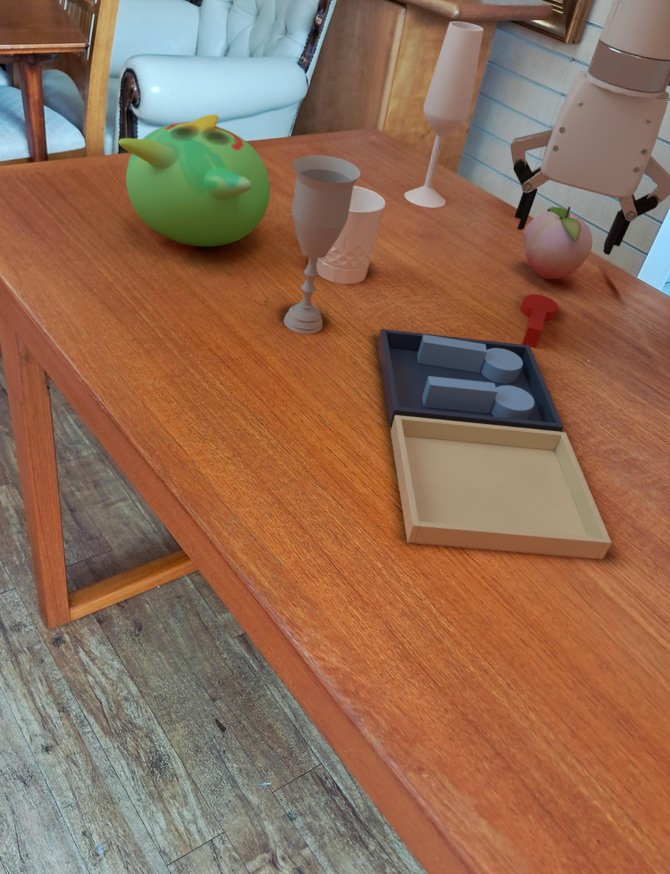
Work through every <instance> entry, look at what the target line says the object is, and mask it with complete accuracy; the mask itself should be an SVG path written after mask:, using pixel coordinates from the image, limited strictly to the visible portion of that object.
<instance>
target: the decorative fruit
mask: <svg viewBox="0 0 670 874" xmlns="http://www.w3.org/2000/svg"><path fill="white" fill-rule="evenodd" d="M570 211H571V206H568V207H567V209H566V208H564V207H559V206H549V207H548V208H547V210H546V211H545V212H542V213H540V214H539V215H536V216H535V217H533V219H531V220H530V221H529V223H527V225H526V226H525V227H524V231H523V236H522V244H523V250H524V255H525V257H526V260H527V262H528V264H529V266H530V267H531V268H532V269H533V270H534V271H535V272H536V273H537V275H538V276H539V277H540V278H542V279H544V280H552V279H553V280H554V279H560V278H561V279H562V278H565V277H568V276H569V275H571V274H572V273H574V272H575V271H577V270H578V269H579V268H580V267H581V266H582V265H583V264H584V263H585V262H586V260H587V259H588V257H589V255H590V253H591V251H592V247H593V236H592V232H591V229H590V227H589V226H588V225H587V223H586V222H585V221H584V220H583V219H582V218H581V217H579V216H577V215H575V214H572V213H570Z"/></svg>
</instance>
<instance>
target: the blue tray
mask: <svg viewBox="0 0 670 874" xmlns="http://www.w3.org/2000/svg"><path fill="white" fill-rule="evenodd" d="M423 335H430V336H436V337H443V338H449V339H455V340H461V341H468V342H474V343H480V344H485V345H486V350H488V349H491V348H501V349H506V350H509V351H511V352H513V353H515V354H517V355H518V356H519V357H520V358H521V359H522V361H523V366H522V368H521V371H520V374H519V376H518V379H517V380H516V381H515V382H513V383H508V384H503V383H497V382H494V381H491V380H489V379H487V378H486V377H484V376H483V375H482V374H481V372H480V373H476V372H470V371H463V370H457V369H451V368H444V367H438V366H432V365H425V364H419V363H418V359H417V355H418V351H419V348H420V344H421V340H422V336H423ZM376 346H377V347H376V348H377V353H378V357H379V358H378V360H379V365H380V372H381V378H382V385H383V392H384V397H385V405H386V412H387V417H388V424H389V425H388V426H389V427H390V428H392V424H393V421H394V417H395V415H399V416H409V417H419V418H429V419H439V420H449V421H459V422H469V423H479V424H489V425H499V426H508V427H518V428H528V429H538V430H548V431H558V432H563V430H564V424H563V423H562V420H561V417H560V415H559V412H558V410H557V408H556V405H555V403H554V401H553V398H552V396H551V394H550V391H549V389H548V386H547V384H546V382H545V379H544V377H543V374H542V372H541V370H540V367H539V364H538V362H537V360H536V357H535V354H534V352H533V350H532V347H530V345H523V344H522V343H512V342H504V341H495V340H485V339H477V338H467V337H460V336H459V337H458V336H449V335H441V334H431V333H423V332H414V331H412V332H411V331H405V330H396V329H386V328H380V330H379V334H378V339H377V343H376ZM428 376H432V377H442V378H451V379H461V380H471V381H480V382H490V383H495V386H496V388H497V387H499V386H503V385H509V386H515V387H518V388H521V389H523V390H525V391H526V392H528V393H529V394H530V395H531V396H532V397H533V399H534V402H535V404H534V407H533V409H532V412H531V414H530V417H529V419H528V420H522V419H512V418H502V417H494V416H493V415H492V414H491V413H489V414H488V413H478V412H468V411H458V410H448V409H438V408H428V407H424V406H423V401H422V396H423V392H424V389H425V386H426V382H427V379H428Z"/></svg>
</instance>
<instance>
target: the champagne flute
mask: <svg viewBox="0 0 670 874" xmlns="http://www.w3.org/2000/svg"><path fill="white" fill-rule="evenodd" d="M483 34H484V28H483V27H482V26H480V25H478V24H475V23H471V22H466V21H455V20H454V21H449V23H448V26H447V29H446V33H445V35H444V39H443V41H442V45H441V49H440V52H439V55H438V57H437V58H438V59H437V61H436V64H435V68H434V71H433V74H432V77H431V81H430V83H429V88H428V91H427V92H426V93H427V94H426V97H425V101H424V103H423V109H422V111H423V115H424V118H425V120H426V122H427V124H428V125H429V127H430V128H431V130H432V131H433V132H434V133H435V139H434V143H433V147H432V150H431V156H430V160H429V163H428V168H427V171H426V176H425V180H424V184H423V185H422V186H419V187H416V188H413V189H410V190H408V191H405V192H404V194H403V196H404V198H405V199H406V200H407V202H409V203H412V204H413V205H416V206H420V207H423V208H430V209H432V208H433V209H435V208H436V209H437V208H441V207H444V206H445V205H446V204H447V202H446V200H445V198H444V197H443V196H442V195H441V194H439V192H437V191H436V190H435V189H434V188H433V183H434V178H435V175H436V171H437V166H438V162H439V158H440V154H441V151H442V146H443V142H444V138H445V136H448V135H450V134H451V133H453V132H454V131H456V130H457V129H459V128H460V127H461V126H463V125H464V123H465V122H466V121H467V119H469V115H470V111H471V105H472V100H473V99H472V98H473V93H474V88H475V87H474V86H475V82H476V76H477V75H476V74H477V69H478V65H479V64H478V62H479V58H480V52H481V45H482V39H483Z"/></svg>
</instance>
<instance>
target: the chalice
mask: <svg viewBox="0 0 670 874" xmlns="http://www.w3.org/2000/svg"><path fill="white" fill-rule="evenodd" d="M292 167H293V171H294V173H295V183H294V191H293V200H292V207H291V215H292V222H293V225H294V232H295V236H296V239H297V241H298V242H297V243H298V245H299V247H300V251H301V253H302V254H303V255H304V256H306V257H308V258H307V259H308V263H307V266H306V268H305V269H304V270H303V274H304V275H305V281H304V283H303V284H301V286H300V290H302V293H303V295H302V296H303V297H302V299H301V301H299V302H296V303H294V304H293V305H291V306H290V307H289V309H288V311H287V312H286V314H285V315H284V318H283V322H281V323H280V326H281V327H282V325H283V324H284V325H285V326H286V328H288V329H289V330H291V331H293V332H296V333H300V334H315V333H317V332H319V331H321V330H322V328H323V326H324V325H323V317H322V316H321V315H322V314H321V311H320V310H319V308H318V307H317V306H316V305H314V304H313V303H312V296H313V293H315V292H316V291H317V287H316V286H315V283H314V281H315V279H316V277H317V276H319V275H318V272H317V269H316V262H317V260H318V258H322V257H324V256H326V255H327V253H328V252H329V250H330V249H331V247H332V246H333V245H334V243H335V242H336V240H337V239H338V237H339V235H340V233H341V232H342V230H343V228H344V226H345V224H346V222H347V219H348V213H349V208H350V202H351V197H352V191H353V186H355V184H356V182H357V181H358V180H359V178H360V177H361V170H360V169H359V167H358V166H356V165H355V163H352V162H350V161H348V160H345V159H343V158H339V157H335V156H331V155H323V154H322V155H321V154H313V155H312V154H311V155H305V156H304V155H303V156H300V157H299V158H296V159H295V160H294V161H293V163H292ZM282 323H283V324H282Z"/></svg>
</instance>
